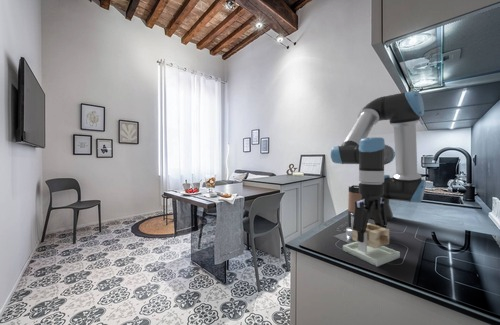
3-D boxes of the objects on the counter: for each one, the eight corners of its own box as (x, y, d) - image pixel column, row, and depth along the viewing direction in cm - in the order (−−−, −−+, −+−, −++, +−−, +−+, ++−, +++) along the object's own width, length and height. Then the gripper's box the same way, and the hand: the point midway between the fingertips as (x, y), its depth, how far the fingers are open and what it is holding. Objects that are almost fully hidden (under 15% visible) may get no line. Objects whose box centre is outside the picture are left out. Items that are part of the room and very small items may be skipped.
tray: (364, 243, 81) (364, 239, 81) (399, 257, 70) (399, 252, 70) (342, 250, 75) (342, 245, 75) (377, 266, 64) (377, 260, 64)
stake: (351, 232, 93) (351, 208, 92) (375, 241, 83) (376, 215, 82) (333, 237, 88) (333, 212, 87) (357, 247, 78) (357, 219, 77)
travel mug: (369, 233, 91) (369, 188, 91) (350, 232, 93) (351, 187, 92) (363, 227, 99) (364, 185, 98) (346, 226, 100) (346, 185, 100)
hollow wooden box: (366, 235, 78) (366, 222, 78) (392, 245, 69) (393, 230, 69) (352, 239, 74) (352, 225, 74) (378, 250, 66) (378, 234, 66)
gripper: (378, 180, 80) (377, 238, 80) (340, 183, 70) (340, 250, 71) (400, 182, 73) (399, 246, 74) (361, 186, 64) (360, 259, 64)
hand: (370, 248), depth 72 cm, fingers closed on hollow wooden box, 8 cm apart
